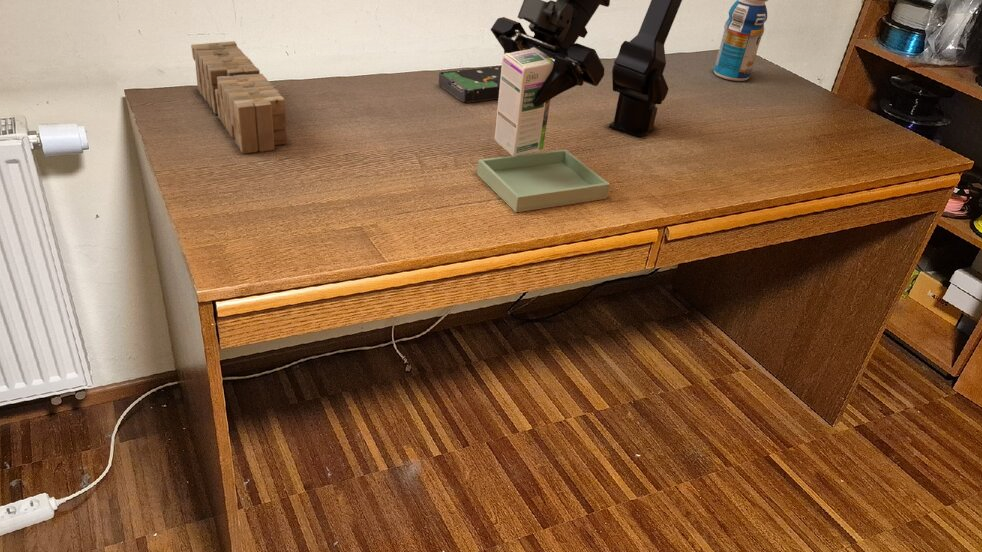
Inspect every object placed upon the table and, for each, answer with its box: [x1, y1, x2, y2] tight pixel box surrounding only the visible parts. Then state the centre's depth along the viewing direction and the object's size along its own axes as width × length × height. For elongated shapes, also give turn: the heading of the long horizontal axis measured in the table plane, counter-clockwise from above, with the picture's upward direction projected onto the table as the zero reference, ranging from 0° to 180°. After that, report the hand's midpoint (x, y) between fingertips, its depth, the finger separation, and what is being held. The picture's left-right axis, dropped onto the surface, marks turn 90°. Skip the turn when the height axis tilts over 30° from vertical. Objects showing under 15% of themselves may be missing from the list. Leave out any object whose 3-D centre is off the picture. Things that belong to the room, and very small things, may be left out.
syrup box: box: [494, 47, 555, 157], centre depth 121 cm, size 6×6×14 cm
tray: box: [476, 149, 611, 213], centre depth 124 cm, size 16×13×2 cm
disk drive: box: [438, 65, 502, 103], centre depth 156 cm, size 10×3×15 cm
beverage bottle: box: [713, 0, 769, 82], centre depth 174 cm, size 8×8×20 cm
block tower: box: [190, 40, 288, 154], centre depth 133 cm, size 8×8×29 cm
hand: (516, 97), depth 119 cm, fingers closed on syrup box, 7 cm apart
